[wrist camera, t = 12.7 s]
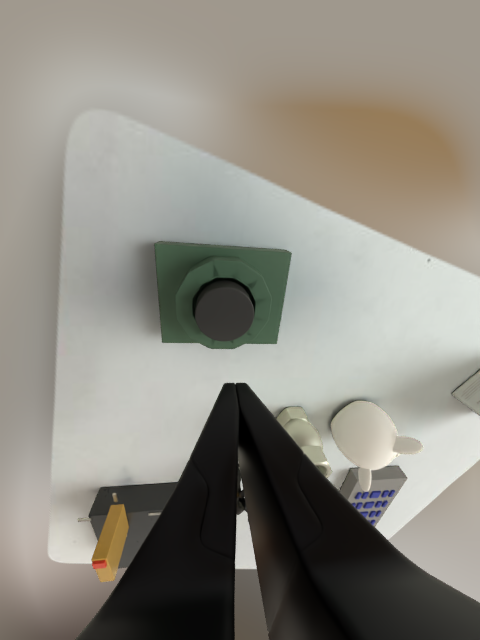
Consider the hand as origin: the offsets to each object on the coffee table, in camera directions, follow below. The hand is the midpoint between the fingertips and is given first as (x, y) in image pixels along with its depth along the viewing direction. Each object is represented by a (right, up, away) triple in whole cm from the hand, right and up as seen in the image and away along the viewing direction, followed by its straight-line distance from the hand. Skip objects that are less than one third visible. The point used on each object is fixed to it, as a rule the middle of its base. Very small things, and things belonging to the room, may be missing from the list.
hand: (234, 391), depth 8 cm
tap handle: (-14, -20, +18) cm, 30 cm away
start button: (-1, +4, +8) cm, 9 cm away
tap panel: (-12, -23, +23) cm, 35 cm away
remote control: (+19, -29, +29) cm, 45 cm away
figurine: (+14, -9, +20) cm, 26 cm away
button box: (-1, +5, +11) cm, 12 cm away
